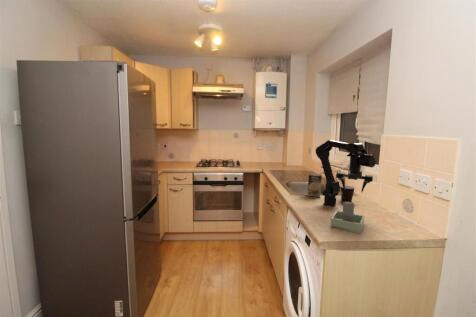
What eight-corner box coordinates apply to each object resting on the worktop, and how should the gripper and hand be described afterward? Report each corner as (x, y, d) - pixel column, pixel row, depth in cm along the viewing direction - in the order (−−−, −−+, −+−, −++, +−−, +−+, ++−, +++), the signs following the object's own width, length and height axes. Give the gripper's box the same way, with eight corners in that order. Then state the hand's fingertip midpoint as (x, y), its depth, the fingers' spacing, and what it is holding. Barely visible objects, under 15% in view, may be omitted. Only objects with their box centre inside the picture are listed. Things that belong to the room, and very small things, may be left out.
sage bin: (330, 226, 117) (331, 218, 116) (335, 218, 128) (336, 210, 127) (360, 233, 109) (361, 224, 109) (363, 224, 121) (364, 215, 120)
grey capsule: (340, 223, 119) (340, 202, 118) (347, 221, 121) (347, 201, 120) (348, 226, 115) (349, 205, 113) (355, 224, 117) (356, 203, 115)
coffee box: (307, 196, 169) (308, 174, 167) (307, 194, 175) (308, 173, 173) (320, 197, 166) (321, 175, 164) (320, 195, 172) (321, 174, 170)
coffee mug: (352, 204, 153) (353, 189, 152) (338, 201, 158) (339, 187, 157) (354, 199, 163) (355, 185, 162) (341, 197, 168) (342, 184, 166)
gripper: (335, 165, 132) (333, 191, 134) (372, 168, 122) (370, 197, 124) (338, 162, 141) (337, 187, 143) (374, 165, 131) (371, 192, 133)
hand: (353, 191), depth 136 cm, fingers open, 9 cm apart
